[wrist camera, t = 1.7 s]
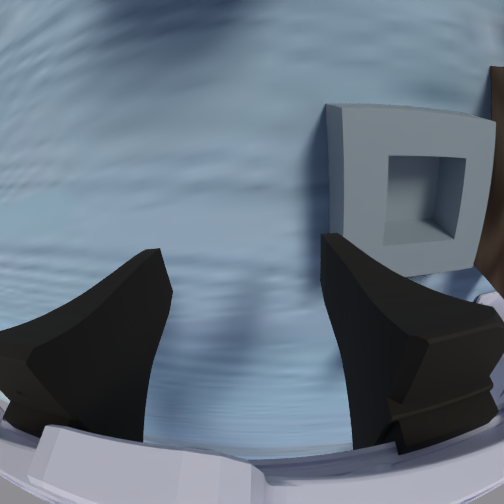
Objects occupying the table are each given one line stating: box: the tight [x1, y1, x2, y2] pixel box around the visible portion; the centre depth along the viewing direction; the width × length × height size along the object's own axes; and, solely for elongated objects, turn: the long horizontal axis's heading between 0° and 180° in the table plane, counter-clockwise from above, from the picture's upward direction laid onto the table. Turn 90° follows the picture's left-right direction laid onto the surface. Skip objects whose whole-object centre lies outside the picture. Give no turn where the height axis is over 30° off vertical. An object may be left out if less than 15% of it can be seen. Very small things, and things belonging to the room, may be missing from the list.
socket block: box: [325, 104, 496, 277], centre depth 16 cm, size 10×10×4 cm
